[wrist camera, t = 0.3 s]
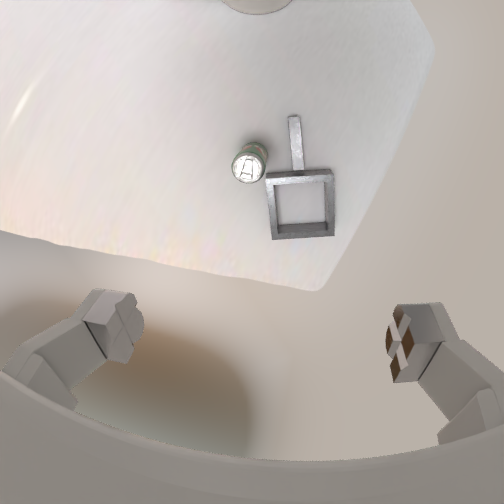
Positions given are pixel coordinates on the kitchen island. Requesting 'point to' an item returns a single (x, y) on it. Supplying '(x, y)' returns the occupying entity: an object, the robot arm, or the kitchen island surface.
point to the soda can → (250, 163)
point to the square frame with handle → (300, 177)
